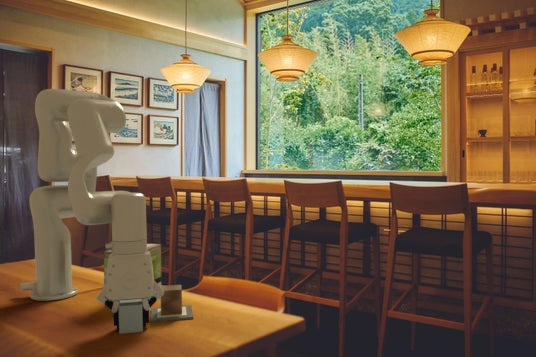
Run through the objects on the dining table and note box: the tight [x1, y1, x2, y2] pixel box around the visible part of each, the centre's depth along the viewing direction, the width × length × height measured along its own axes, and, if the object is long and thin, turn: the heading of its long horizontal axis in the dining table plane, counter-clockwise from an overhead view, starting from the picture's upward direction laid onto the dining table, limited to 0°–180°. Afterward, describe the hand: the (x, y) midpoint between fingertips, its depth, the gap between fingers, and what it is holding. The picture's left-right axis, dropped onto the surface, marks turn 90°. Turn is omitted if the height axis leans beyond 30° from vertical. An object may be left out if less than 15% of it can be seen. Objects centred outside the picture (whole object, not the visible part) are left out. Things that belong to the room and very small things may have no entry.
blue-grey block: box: [118, 299, 144, 334], centre depth 108 cm, size 5×5×6 cm
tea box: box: [103, 243, 162, 307], centre depth 132 cm, size 15×10×15 cm, turn 168°
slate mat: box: [149, 304, 194, 323], centre depth 119 cm, size 10×10×1 cm
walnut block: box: [160, 284, 183, 316], centre depth 119 cm, size 5×5×6 cm
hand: (131, 326), depth 109 cm, fingers closed on blue-grey block, 5 cm apart
